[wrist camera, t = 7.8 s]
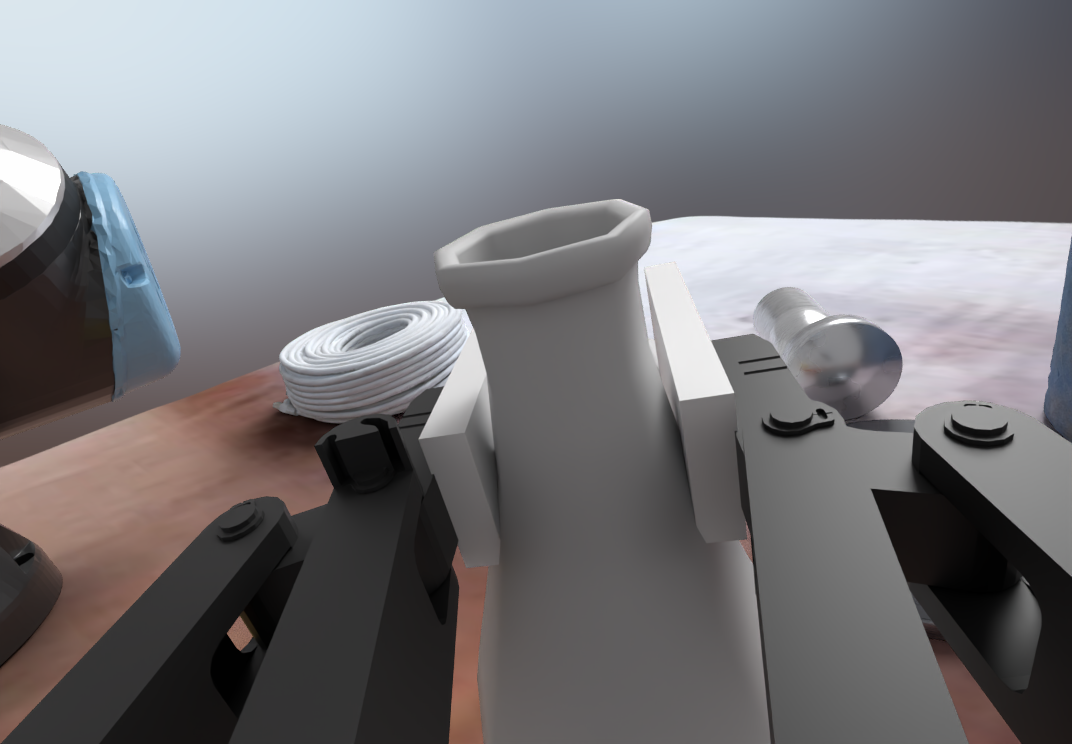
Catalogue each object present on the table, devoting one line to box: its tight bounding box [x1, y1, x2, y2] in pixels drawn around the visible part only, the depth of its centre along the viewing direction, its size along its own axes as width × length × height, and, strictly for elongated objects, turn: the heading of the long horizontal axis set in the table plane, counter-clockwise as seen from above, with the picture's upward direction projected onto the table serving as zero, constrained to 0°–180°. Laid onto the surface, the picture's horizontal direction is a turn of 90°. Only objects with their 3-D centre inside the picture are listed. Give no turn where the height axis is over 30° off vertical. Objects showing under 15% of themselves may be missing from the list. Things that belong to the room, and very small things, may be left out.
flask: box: [434, 199, 771, 744], centre depth 10 cm, size 7×7×10 cm
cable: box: [273, 301, 470, 424], centre depth 53 cm, size 18×18×6 cm
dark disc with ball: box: [753, 287, 946, 640], centre depth 30 cm, size 13×26×6 cm, turn 174°
